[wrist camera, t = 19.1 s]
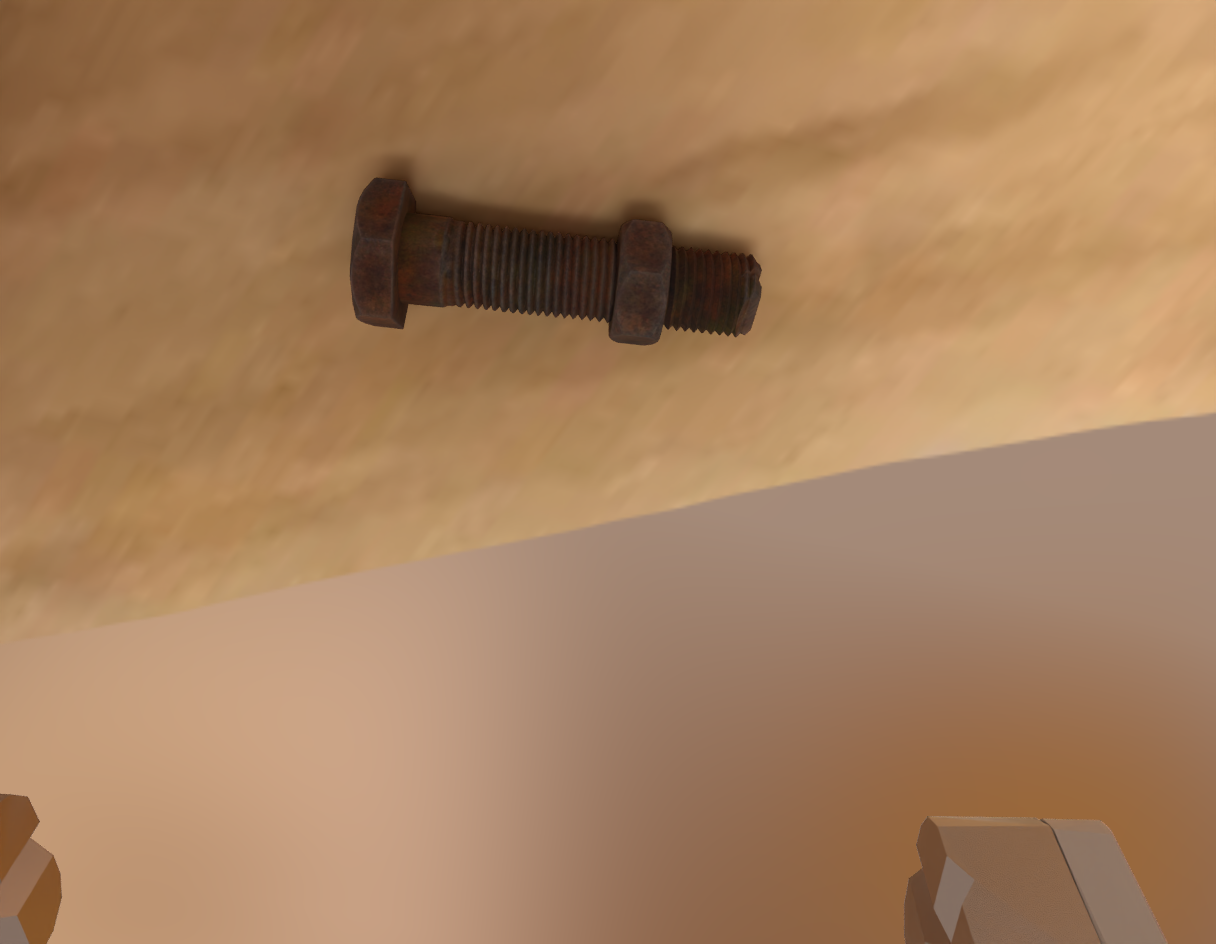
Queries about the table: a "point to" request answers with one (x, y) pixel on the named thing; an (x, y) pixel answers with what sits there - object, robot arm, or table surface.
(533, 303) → the bolt
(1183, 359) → the table surface
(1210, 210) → the table surface
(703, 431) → the table surface
